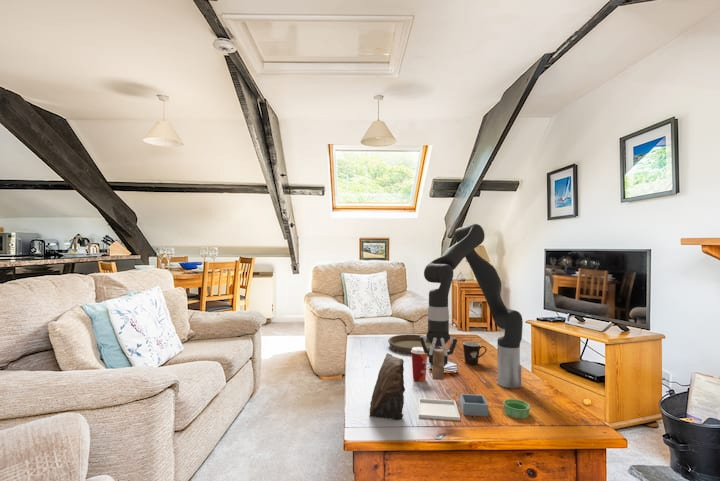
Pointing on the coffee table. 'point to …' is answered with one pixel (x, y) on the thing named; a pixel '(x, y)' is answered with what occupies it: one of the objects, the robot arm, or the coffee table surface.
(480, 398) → the blue-grey open box
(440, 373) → the walnut peg
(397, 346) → the plant saucer
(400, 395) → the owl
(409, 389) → the coffee table surface
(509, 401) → the ramekin
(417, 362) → the paper cup
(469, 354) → the coffee mug
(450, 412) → the cream tray
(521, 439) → the coffee table surface
